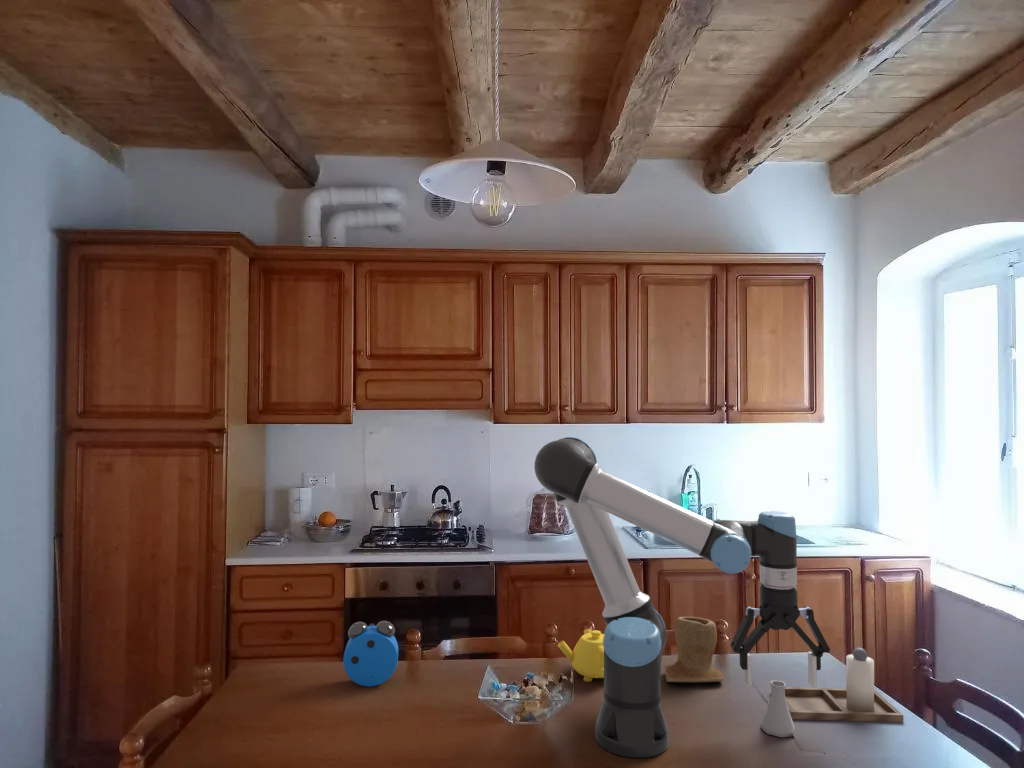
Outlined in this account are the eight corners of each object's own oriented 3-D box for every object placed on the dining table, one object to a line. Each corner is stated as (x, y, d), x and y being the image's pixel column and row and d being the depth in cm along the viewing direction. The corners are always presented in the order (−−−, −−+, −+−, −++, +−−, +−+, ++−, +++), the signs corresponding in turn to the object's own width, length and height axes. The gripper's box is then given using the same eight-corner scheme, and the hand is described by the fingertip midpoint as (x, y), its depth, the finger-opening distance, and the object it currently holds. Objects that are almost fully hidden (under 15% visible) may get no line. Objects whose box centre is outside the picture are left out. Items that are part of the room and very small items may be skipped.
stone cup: (712, 668, 178) (712, 611, 179) (728, 687, 166) (728, 626, 167) (655, 669, 177) (655, 611, 178) (667, 688, 166) (668, 627, 166)
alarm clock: (398, 676, 172) (398, 616, 172) (397, 686, 166) (398, 624, 166) (345, 679, 170) (345, 618, 170) (342, 689, 164) (343, 627, 164)
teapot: (586, 659, 184) (586, 618, 184) (631, 672, 175) (631, 629, 175) (555, 676, 172) (556, 632, 173) (602, 691, 164) (602, 645, 164)
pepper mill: (853, 713, 152) (853, 652, 152) (842, 701, 157) (842, 643, 158) (878, 713, 151) (878, 652, 152) (866, 702, 157) (866, 643, 157)
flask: (799, 740, 141) (799, 692, 141) (763, 736, 143) (763, 688, 143) (792, 724, 148) (792, 677, 148) (757, 720, 150) (757, 675, 150)
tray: (791, 722, 149) (791, 712, 149) (771, 696, 162) (771, 686, 162) (903, 725, 148) (903, 715, 148) (874, 699, 161) (874, 689, 161)
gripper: (724, 589, 143) (726, 691, 142) (845, 590, 142) (847, 692, 141) (715, 580, 150) (717, 676, 150) (830, 580, 149) (832, 677, 149)
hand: (780, 684), depth 145 cm, fingers open, 13 cm apart
